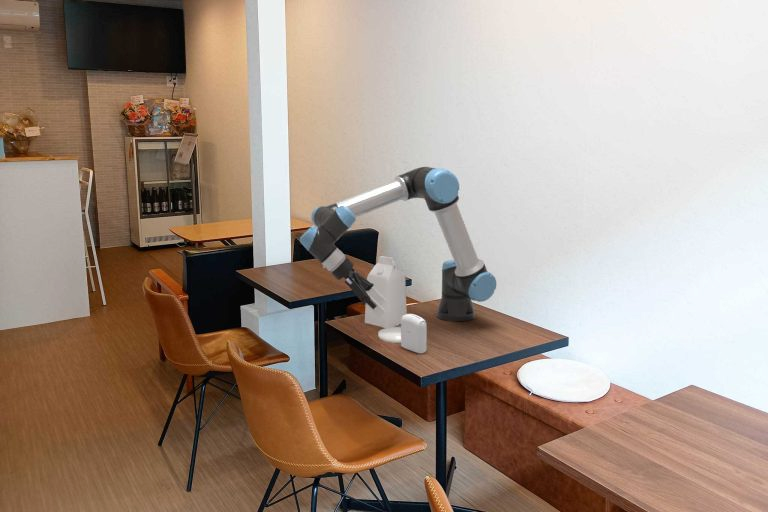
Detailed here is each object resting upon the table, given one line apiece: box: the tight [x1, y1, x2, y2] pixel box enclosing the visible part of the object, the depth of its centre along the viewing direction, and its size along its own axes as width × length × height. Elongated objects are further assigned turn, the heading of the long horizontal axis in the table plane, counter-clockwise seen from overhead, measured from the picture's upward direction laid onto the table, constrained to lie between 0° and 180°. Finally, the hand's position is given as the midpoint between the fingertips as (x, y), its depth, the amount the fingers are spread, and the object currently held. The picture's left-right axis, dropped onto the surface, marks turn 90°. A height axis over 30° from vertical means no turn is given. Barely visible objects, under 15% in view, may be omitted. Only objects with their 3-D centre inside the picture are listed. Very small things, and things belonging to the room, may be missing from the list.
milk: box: [364, 255, 408, 329], centre depth 254 cm, size 12×12×26 cm
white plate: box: [377, 326, 401, 344], centre depth 239 cm, size 15×15×1 cm
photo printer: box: [400, 313, 428, 354], centre depth 224 cm, size 10×4×12 cm, turn 39°
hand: (382, 308), depth 223 cm, fingers open, 13 cm apart
